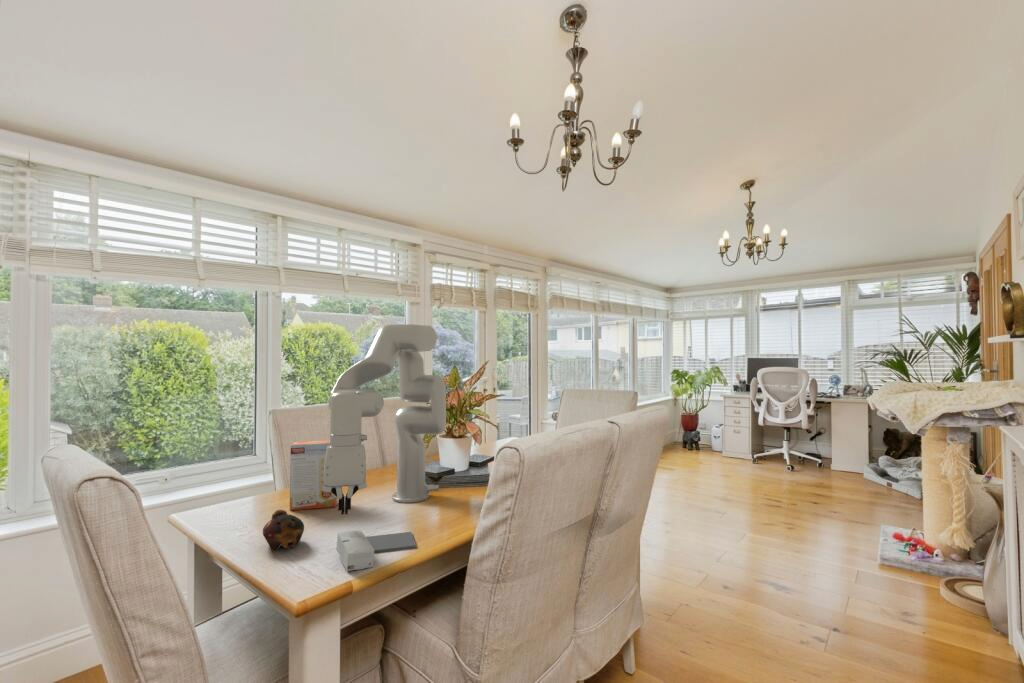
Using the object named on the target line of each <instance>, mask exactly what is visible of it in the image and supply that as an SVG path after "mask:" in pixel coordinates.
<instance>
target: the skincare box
mask: <svg viewBox="0 0 1024 683" xmlns="http://www.w3.org/2000/svg"><path fill="white" fill-rule="evenodd" d="M366 537H367V536H366V535H365V533H364V532H363V530H360V529H357V530H345V531H340V532H337V539H336V547H335V550H336V552H337V553H338V555H339V558H340V559H341V561H342V564H343V566H344V568H345V570H346V571H347V572H349V571H361V570H364V569H368V568H373V566H374V557H375V553H374V549H373V547H372V546H371V544H370V542H369V541H368V539H367V538H366Z"/></svg>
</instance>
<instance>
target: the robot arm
mask: <svg viewBox="0 0 1024 683" xmlns="http://www.w3.org/2000/svg"><path fill="white" fill-rule="evenodd" d="M437 340H438V335H437V332H436V329H435V328H434V327H433V326H431V325H426V324H425V325H422V324H404V323H403V324H398V323H397V324H385V325H383V326H381V327H380V328H379V329H378V331H377V333H376V335H375V337H374V338H373V341H372V342H371V343H372V344H371V345H370V347H369V350H368V351H367V354H366V355H365V357H364V358H363V359H361V360H359V361H357V362H356V363H355V364H353V365H352V366H350V367H349V368H348V369H347V370H345V371H343V373H342V374H341V375H340V376H339V377H338V379H337V381H336V382H335V383H334V384H335V385H334V386H333V388H332V389H331V392H330V395H329V398H328V409H329V412H330V422H329V423H330V424H329V425H330V426H329V428H330V430H329V441H330V445H329V446H327V449H326V454H325V464H324V485H323V488H322V490H323V491H325V492H332V493H333V494H334V495H335V496H336V497H337V498H338V502H337V505H338V506H337V507H338V509H337V510H338V512H339V511H340V512H341V513H340V515H341V516H343V515H348V513H349V511H350V510H351V509H352V497H353V496H354V495H355V494H356V493H357V492H358V491H361V490H363V489H366V488H367V487H368V484H367V481H366V480H367V479H366V478H367V461H366V458H367V457H366V448H365V444H364V443H363V442H364V441H367V440H368V435H367V434H363V433H362V418H372V417H376V416H377V415H379V414H380V413H381V412H382V410H383V409H384V402H385V401H384V397H383V395H382V394H381V393H380V392H379V391H377V390H376V389H370V388H368V389H367V388H361V389H360V388H359V387H360V386H361V385H363V384H367V383H370V382H371V381H375V380H378V379H380V378H383V377H385V376H387V375H389V374H390V373H391V372H392V370H393V369H394V366H395V364H396V362H397V363H398V391H399V392H398V394H399V397H400V399H401V400H402V401H404V402H406V403H424V404H425V403H427V404H428V403H429V405H430V406H427V405H424V406H423V405H404V406H401V407H400V408H398V410H397V411H396V413H395V416H394V422H395V423H394V424H395V428H396V436H397V461H396V462H397V464H396V466H397V474H396V476H397V478H396V479H397V480H396V491H395V492H394V493H393V494H392V496H391V498H392V501H395V502H398V503H402V504H403V503H405V504H407V503H408V504H411V503H412V504H413V503H418V502H423V501H426V500H428V499H429V498H430V492H438V491H440V487H439V486H440V485H438V484H437V485H435V484H427V483H426V450H427V449H426V444H425V441H424V439H423V438H422V436H421V435H440V434H442V433H444V431H445V429H446V426H447V425H446V423H447V390H446V388H447V387H446V383H445V380H444V378H443V377H441V376H440V375H438V374H437V375H436V374H426V373H425V372H424V371H425V370H424V369H425V364H424V362H425V361H424V359H423V356H422V355H421V353H422V352H430V351H432V350H433V349H434V348H435V347H436V344H437ZM343 487H348V488H347V493H345V494H344V493H343Z"/></svg>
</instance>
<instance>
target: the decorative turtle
mask: <svg viewBox="0 0 1024 683" xmlns="http://www.w3.org/2000/svg"><path fill="white" fill-rule="evenodd" d="M304 531H305V524H304V522H303V521H302V519H301V518H299V517H297V516H296V515H294V514H293V515H292V514H288V513H287V511H286V510H284V509H277V510H275V511H274V512H273V513H272V515H271V519H270V520H269V521H267V523H266V524H265V525H264V526H263V529H262V535H263V537H264V539H265V541H266V542H267V544H268V546H269V549H270V550H271V551H277V550H278V549H279V548H280V547H281V546H282V547H283V548H284V549H289V550H290V549H292V548H294V547H296V546H298V545H299V543H300V542H301V540H302V536H303V534H304Z"/></svg>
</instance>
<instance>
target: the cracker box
mask: <svg viewBox="0 0 1024 683" xmlns="http://www.w3.org/2000/svg"><path fill="white" fill-rule="evenodd" d="M329 445H330V440H310V441H294V442H293V443H291V444H290V460H289V461H290V462H289V463H290V464H289V511H299V510H312V509H325V508H326V509H327V508H336V507H337V505H338V502H339V499H338V498H337V497H336V496H335V495H334V494H333V493H332V492H325V491H323V490H322V488H323V485H324V464H325V454H326V449H327V446H329Z"/></svg>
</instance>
